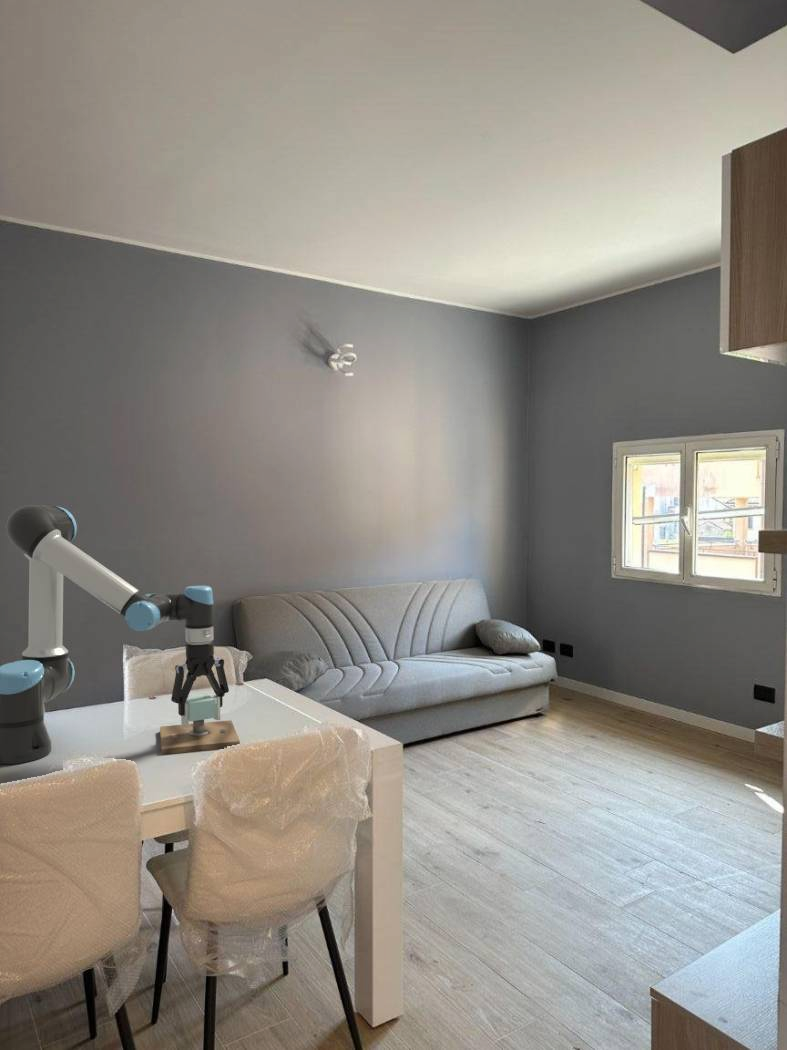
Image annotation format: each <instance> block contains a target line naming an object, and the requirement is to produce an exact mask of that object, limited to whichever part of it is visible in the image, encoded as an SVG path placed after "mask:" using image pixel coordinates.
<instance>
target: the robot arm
mask: <svg viewBox="0 0 787 1050" xmlns="http://www.w3.org/2000/svg"><path fill="white" fill-rule="evenodd" d="M5 525H6V526H5V532H6V535H7V538H8V540H9V541H10V543H11V544H13V545H14V547H16V548H17V549H18V550H20V551H21V552H22V554H23V555H24V557H25V558H26V559H28V561H29V562H28V563H29V564H28V566H29V570H28V571H29V572H28V574H29V575H28V576H29V577H28V640H27V641H28V643H27V644H28V645H27V648H26V649H25V650H23V652H21V660H16V661H13V662H7V663H4V664H3V665H1V666H0V765H13V764H16V765H17V764H22V763H28V762H32V761H36V760H39V759H41V758H42V759H43V758H44V757H46V756H48V755H49V754H50V753H51V752H52V741H51V738H50V734H49V733H48V730H47V727H46V724H45V719H44V718H45V717H44V715H45V714H44V713H45V712H44V711H45V708H44V707H45V706H44V705H45V704H46V703H48V702H50V701H51V700H53V699H57V698H59V697H60V696H61V695H63V694H64V693H65V692H66V691H68V690H69V688H70V687H71V686H72V684H73V681H74V679H75V675H76V674H75V672H76V671H75V666H74V664H73V662H72V661H71V660H70V658H69V650H68V649H67V648H66V647H65V646H64V645H63V637H64V636H63V632H64V630H63V629H64V621H63V620H64V618H63V617H64V577H66V578H68V579H69V581H72V582H73V583H74V584H76V585H77V586H79V587H80V588H82V589H83V590H84V591H86V592H88V593H89V594H90V595H92V596H93V597H95V598H96V599H98V600H99V601H100V602H102V603H104V604H105V605H106V606H107V607H109V608H111V609H112V610H114V611H115V612H117V613H118V615H121V616H122V617H124V620H125V622H126V623H127V625H128V627H129V628H130V629H131V630H133V631H136V632H143V631H149V630H152V629H154V628H155V627H156V626H158V625H161V624H163V623H165V622H184V623H185V625H184V627H185V630H184V631H185V641H186V644H185V657H186V658H185V659H186V660H185V662H184V664H180V665H179V664H177V665H175V667H174V669H175V677H174V682H173V689H172V693H171V702H173V703H175V704H177V705H178V708H177V709H178V712H177V713H178V715H179V716H181V718H180V719H181V720H180V721H181V722H180V723H181V724H180V725H181V726H183V727H185V728H189V724H190V723H189V722H190V721H189V714H188V703H186V700H187V698H188V697H189V695H190V693H191V690H192V688H193V686H194V685H193V684H194V683H195V682H196V680H197V678H199V677H202V676H205V677H206V679H207V680H208V682H209V684H210V686H211V688H212V690H213V692H214V695H212V697H216V698H217V704H215V718H212V719H213V720H216V721H221V708H222V707H223V700H224V699H223V697H225V694H227V693H229V692H230V691H229V690H230V689H229V685H228V684H229V683H228V680H227V677H226V676H227V675H226V672H225V667H224V666H225V660H224V659H223V658H219V657H217V658H215V657H214V655H215V645H214V644H215V643H214V642H213V641H214V638H215V637H214V636H215V635H214V603H215V602H214V596H213V595H214V594H213V588H212V587H211V586H208V585H191V586H186V587H185V588H184V592H183V593H157V592H155V593H146V594H145V593H143V592H142V591H140V590H139V589H138V588H137V587H135V586H133V585H131V583H129V582H127V580H125V579H123V578H122V577H120V576H119V575H117V574H116V573H115V572H114V571H112V570H110V568H107V567H106V566H104V565H103V564H102V563H100V562H99V561H97V560H96V559H94V558H93V557H92V556H90V555H88V553H85V551H83V550H81V549H80V548H79V547H77V546H75V545H74V544H72V541H73V540H74V539H75V538H76V535H77V532H78V531H77V530H78V527H77V522H76V519H75V518H74V515H73V514H72V513H71V512H70V511H69V510H68V509H66V508H64V507H61V506H57V505H51V504H47V505H45V504H44V505H34V504H33V505H32V504H31V505H25V506H21V507H18V508H17V509H15V510H14V511H13V512H12V513H11V514H10V515H9V517H8V518H7V521H6V524H5ZM213 666H215V672H216V676H217V679H216V676H215V673H214V670H213ZM186 670H187V673H186ZM185 673H186V676H185ZM185 677H186V679H185V680H184V678H185Z"/></svg>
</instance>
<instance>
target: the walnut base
mask: <svg viewBox="0 0 787 1050" xmlns="http://www.w3.org/2000/svg"><path fill="white" fill-rule="evenodd" d="M159 733H160V734H159V735H160V736H159V737H160V748H161V749H160V751H161V755H169V754H170V755H171V754H181V753H191V752H199V751H209V750H212V751H213V750H219V749H220V748H222V749H225V748H224V747H227V746H232V745H237V744H240V743H241V740H240V739H239V735H238V734H237V731H236V729H235V725H234V724H233V721H232V719H229V720H216V721H210V722H209V721H208V722H206V721H205V719H203V720H197V721H192V723H189V728H185V727H183V726H181V724H174V725H164V726H162V725H161V726H159ZM240 745H241V744H240ZM220 750H221V749H220Z"/></svg>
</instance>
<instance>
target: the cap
mask: <svg viewBox="0 0 787 1050" xmlns="http://www.w3.org/2000/svg"><path fill="white" fill-rule="evenodd" d="M186 703H188V714H189V722H193V721H197V720H203V719H204V720H209V719H213V718H215V704H217V698H216V697H213V696H210V695H209V694H208V693H206V694H198V695H192V696H191V695H190V696H189V695H188V698H187V700H186Z"/></svg>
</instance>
